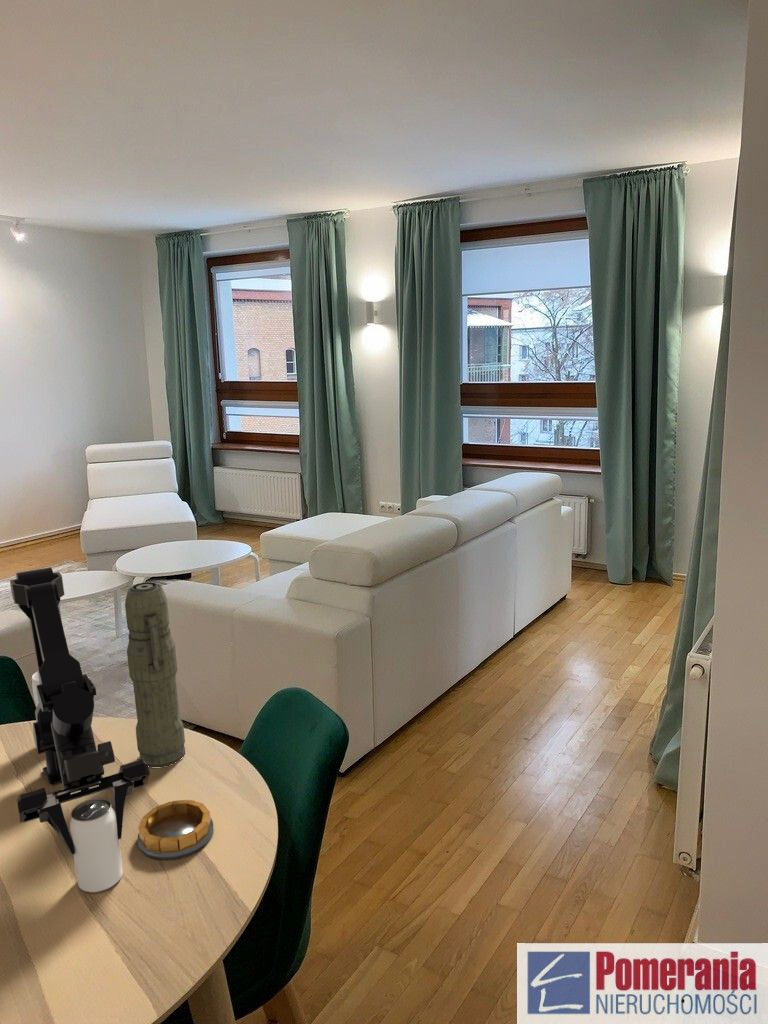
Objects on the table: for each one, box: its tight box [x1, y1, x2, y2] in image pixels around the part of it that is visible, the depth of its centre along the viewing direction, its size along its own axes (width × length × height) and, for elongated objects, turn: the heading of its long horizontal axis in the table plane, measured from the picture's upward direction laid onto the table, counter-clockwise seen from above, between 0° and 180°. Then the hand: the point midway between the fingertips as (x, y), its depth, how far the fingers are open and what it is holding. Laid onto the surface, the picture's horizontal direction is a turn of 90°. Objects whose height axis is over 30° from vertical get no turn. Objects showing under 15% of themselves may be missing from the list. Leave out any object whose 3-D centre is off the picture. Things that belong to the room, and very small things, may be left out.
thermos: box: [124, 581, 186, 768], centre depth 148 cm, size 9×12×35 cm
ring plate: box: [137, 799, 214, 861], centre depth 127 cm, size 12×12×3 cm
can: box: [69, 797, 124, 894], centre depth 116 cm, size 6×6×12 cm
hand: (96, 846), depth 115 cm, fingers closed on can, 6 cm apart
